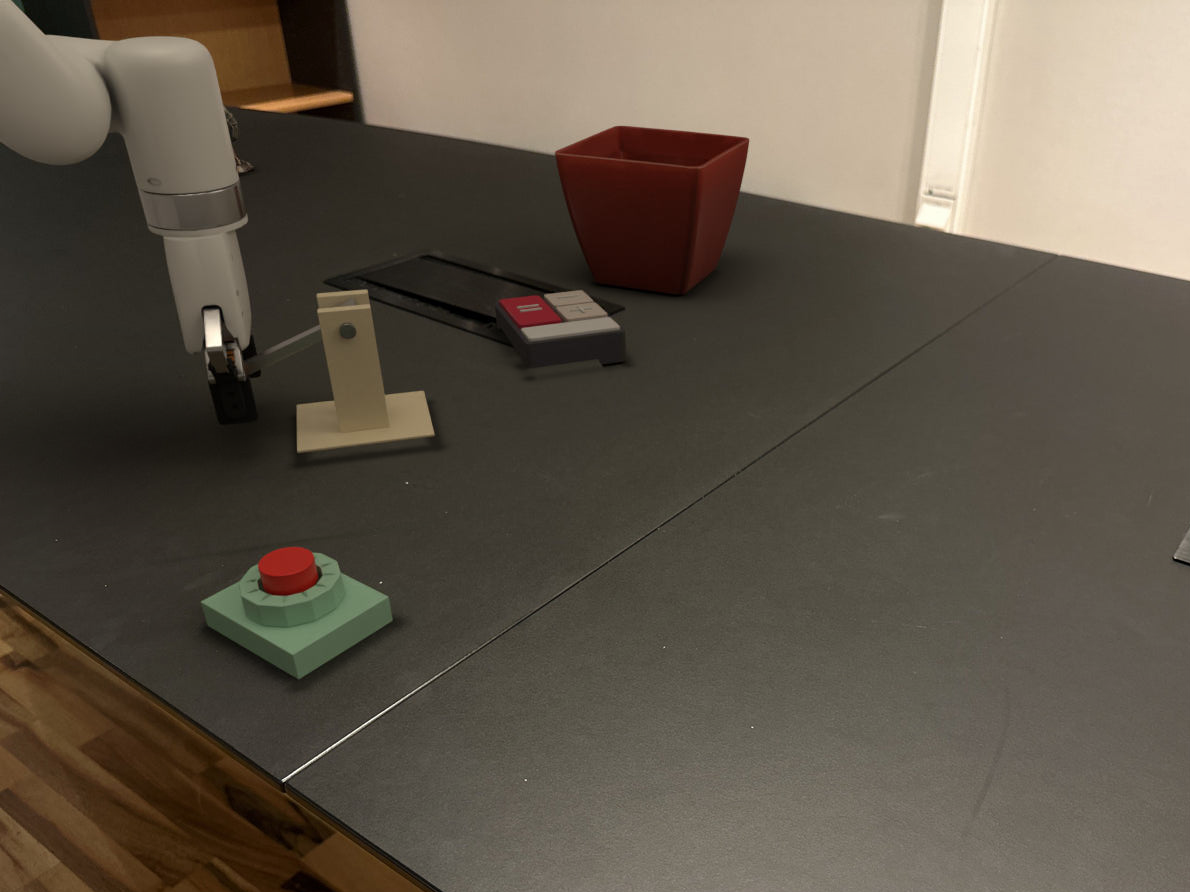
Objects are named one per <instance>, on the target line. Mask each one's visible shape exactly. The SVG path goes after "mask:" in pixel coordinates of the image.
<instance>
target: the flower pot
mask: <svg viewBox="0 0 1190 892" xmlns="http://www.w3.org/2000/svg"><path fill="white" fill-rule="evenodd" d="M749 146H750V138H749V137H745V136H736V135H727V134H719V133H718V134H717V133H709V132H708V133H707V132H696V131H689V130H676V129H668V128H667V129H665V128H654V127H644V126H643V127H642V126H632V125H615V126H612V127H610V128H606V129H605V130H602V131H600V132H597V133H595V134H593V135H590V136H587V137H585V138H584V139H581V140H579V141H576V142H574V143H571V144H569V145H567V146H563V147H562V148H560V149H559V148H558V149H557V150H555V151H554V156H555V161H556V168H557V172H558V177H559V181H560V186H561V190H562V194H563V198H564V201H565V204H566V209H567V212H568V215H569V219H570V221H571V224H572V228H573V230H574V234H575V236H576V239H577V242H578V244H579V247H580V251H581V252H582V255H583V257H584V259H585V262H586V264H587V267H588V270H589V272H590V274H591V276H592V278H593V280H594V282H595V283H596V284H601V285H608V286H614V287H615V286H616V287H623V288H629V289H635V290H636V289H637V290H643V291H650V292H658V293H664V294H670V295H685V294H687V293H688V292H690V291H691V290H692V289H693V288H694V287H696V286H697V285H698V284H699V283H700V282H702V281H703V280H704V279H706V278H707V277H708V276H709V275H710V274H711V273H712V272H714V271H715V270H716V269H717V266H718V263H719V261H720V258H721V256H722V253H723V250H724V247H725V243H726V241H727V239H728V236H729V232H730V229H731V225H732V223H733V222H732V221H733V219H734V215H735V212H736V208H737V205H738V201H739V197H740V192H741V188H742V183H743V179H744V174H745V169H746V165H747V161H748V160H747V159H748V152H749Z"/></svg>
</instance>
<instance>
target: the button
mask: <svg viewBox="0 0 1190 892" xmlns="http://www.w3.org/2000/svg"><path fill="white" fill-rule="evenodd" d="M313 553H314V552H312V551H311V550H309V549H308V548H305V547H300V546H286V547H281V548H278V549H275V550H272V551H270V552H268V553H267V554H265V555H263V556H262V557H261V558H260V560H259V561H258V563H257V564H258V569H259V573H260V577H261V581H262V585H263V588H264V590H265V591H266V592H267V593H269V594H271V595H277V596H288V595H292V594H297V593H301V592H304V591H306V590H308V589H309V588H311V587H313V586H314V585H315V584H316V582H317V580H318V572H317V568H316V563H315V559H314V555H313Z"/></svg>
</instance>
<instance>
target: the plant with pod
mask: <svg viewBox="0 0 1190 892" xmlns="http://www.w3.org/2000/svg"><path fill="white" fill-rule="evenodd" d="M223 107H224V112H225V116H226V121H227V126H228V130H229V135H230V140H231V143H234V142H237V140H238V138H239V134H240V132H239V131H240V129H239V124H238V122H237V119H236V118H235V116H233V115H234V114H233V113H232V112H230V111H229V110H228V108H227V107H226V106H225V105H224V104H223ZM233 153H234V157H235V162H236V167H237V171H238V174H242V173H244V172H245V173H247V172H249V171H251V170H252V169H254V166H253V165H251V163H250V162H247V161H245V160H242V159H241V157H240V156H239V155H238V154H237V153H235V150H234V148H233Z"/></svg>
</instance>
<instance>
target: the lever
mask: <svg viewBox="0 0 1190 892" xmlns="http://www.w3.org/2000/svg"><path fill="white" fill-rule="evenodd" d="M355 305H357V303H356V302H355V300H354V298H351V299H349V300H347V301H345V302H343V303H341V304H339V305H337V306H335V307H343V306H355ZM321 341H323V339H322V334H321V329H320V324H318V325H315V326H313V327H311V328H309V329H308V330H306V331H303V332H301V333H299V334H297V335H295V336H293V337H291V338H289V339H286V340H284V341H283V342H281V343H278V344H276V345H274V346H271V347H270V348H268V349H265V350H264V351H261V352H260V353H259V352H258V353H257V355H255V356H253V357H251V358H249V359H247V360H245V361H243V363H244V370H245V377H246V376H248V375H250V374H252V373H254V372H256V371H258V370H260V369H261V370H262V369H265V368H267V367H268V366H271V365H272V364H275V363H277V362H278V361H281V360H283V359H285V358H288V357H289V356H291V355H294V354H295V353H298V352H300V351H302V350H304V349H306V348H308V347H310V346H312V345H314V344H317V343H319V342H321ZM228 358H232V360H233V361H235V359H234V356H229V357H228ZM234 365H235V364H234Z"/></svg>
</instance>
